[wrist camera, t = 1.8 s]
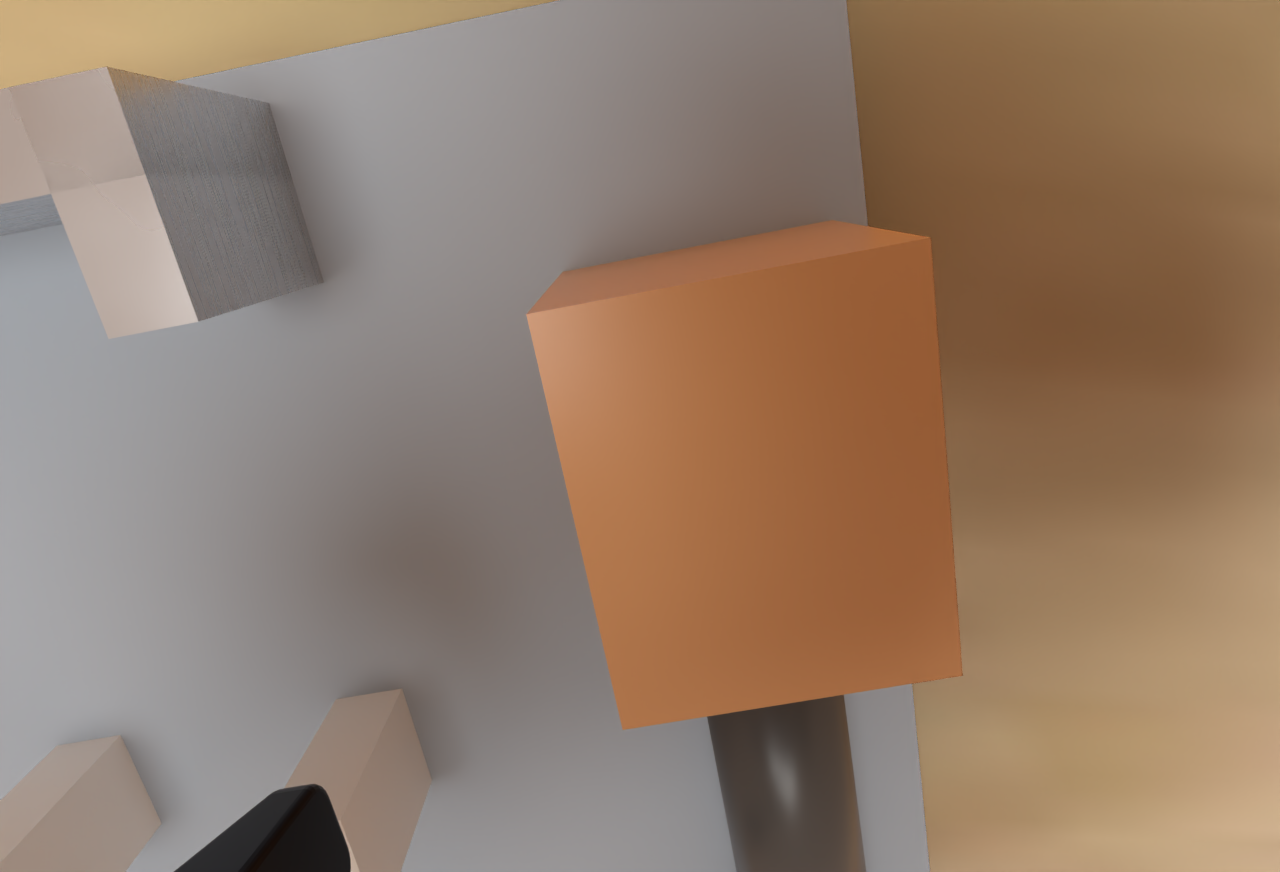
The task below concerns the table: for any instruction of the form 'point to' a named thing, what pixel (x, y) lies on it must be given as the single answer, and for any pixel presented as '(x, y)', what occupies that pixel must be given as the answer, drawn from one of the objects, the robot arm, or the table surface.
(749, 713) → the plug
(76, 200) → the bracket
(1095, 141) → the table surface
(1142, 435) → the table surface
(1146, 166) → the table surface
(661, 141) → the board
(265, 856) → the robot arm
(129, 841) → the clips
